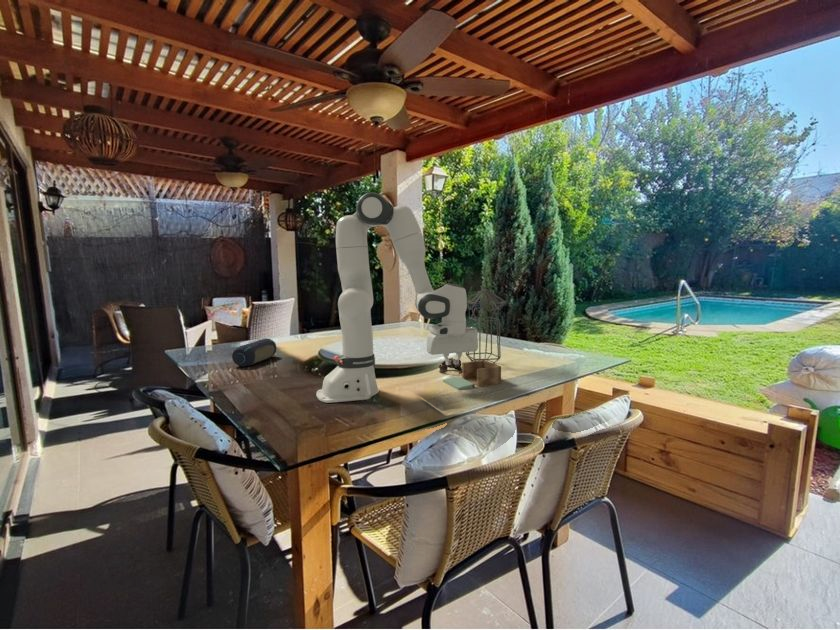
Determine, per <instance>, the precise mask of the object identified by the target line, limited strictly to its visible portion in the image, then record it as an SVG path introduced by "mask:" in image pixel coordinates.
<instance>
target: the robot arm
mask: <svg viewBox="0 0 840 630" xmlns="http://www.w3.org/2000/svg"><path fill="white" fill-rule="evenodd" d="M355 208H356V210H355V212H354V213H353V214H349V215H347V214H346V215H344V216H341V218H339V219H338V220H337V222H336V226H335V227H336V229H335V249H336V262H337V272H338V276H339V279H340V283H341V290H342V292H341V294H340V295H339V297H338V301H337V308H338V316H339V323H340V330H341V341H342V342H341V343H342V355H341V356H339V355H335V356H334V357H333V361H335V362H336V363H337V365H336V367H335V368H334V369H332V370H331V371H330V372H329V373H328V374H327V375H326V376H324V378H323V382H322V388H321V389H318V390H317V391H316V392H315V393H316V397H317V399H318V401H320V402H323V403H328V404H329V403H330V404H331V403H339V402H340V403H341V402H352V401H354V402H355V401H365V400H369V399H371V397H373V396H375V395H376V394H378V393H379V392H380V389H379V388H378V387H379V386H378V383H377V380H376V379H377V378H376V373H375V368H376V357H375V353H374V333H373V325H372V314H371V313H372V312H371V311H372V310H371V309H372V307H373V305H374V291H373V285H372V278H371V277H372V276H371V271H370V261H369V260H370V259H369V258H370V257H369V248H368V232H369V231H370V230H372V229H376V228H377V227H381V226H382V227H384V228H385V229H386V231H387V232H388V234H389V237H390V240H391V243H392V245H393V248H394V250H395V253H396V254H397V256H398V257H399V259H400V262H402V263H403V264H404V266H405V267H406V269H407V271H408V273H409V275H410V278H411V281H412V283H413V284H412V285H413V287H414V290H415V308H416V310H417V312H418V313H419V314H420V315H421V316H422V317H423V318H425V319H428V320H435V319H441V322H439V323H436V324H434V325H431V326H430V327H429V329H428V331H429V334H428V336H427V340H426V352H427V353H428V354H430V355H431V356H433V355H442V356H443V358H444V359H445V360H446V365H451V360H449V357H450V354H456V356H455V358H453V361H454V362H453V364H459V360H461V357H462V356H463V353H466V352H467V353H468V352H469V353H474V351H475V352H477V350H479V339H478V336H479V335H478V334H479V333H478V328H477V329H476V327H475V326H471V327H470V326H469V327H468V326H467V318H466V311H467V309H468V306H467V304H468V302H467V298H468V297H467V291H466V288H465V287H464V286H462V285H459V284H455V283H450V282H449V283H448V282H447V283H445V284H444V285H443V286H442V287H438V288H437V289H434V287H432V284H431V281H430V278H429V275H428V272H427V270H426V265H425V260H426V259H425V256H426V246H425V245H426V244H425V240H424V237H423V233H422V230H421V229H422V228H420V225H419V222H418V220H417V218H416V216H415V214H414V212H413V211H412V209H411V208H410V207H408V206H407V205H397V206H393V204H392V203H390V202H389V201H388V200H387V199H386V198H385V197H384V196H383V195H381V194H379V193H376V192H367V193H365V194H362V195H361V196H360V198H358V200H357V202H356V207H355ZM445 360H444V361H445Z"/></svg>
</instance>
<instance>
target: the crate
mask: <svg viewBox="0 0 840 630" xmlns="http://www.w3.org/2000/svg"><path fill="white" fill-rule="evenodd" d="M461 367H462V373H461V378H463V379H465V380H467V381H469V382H471V383H473V384H475V387H477V388H481V387H487V386H492V385H499V384H502V366H501V365H499V364H496V363H495V364H493V362H490V361H488V360H487V361H486V360H476V361H471V360H470V361H465V362H461Z"/></svg>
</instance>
